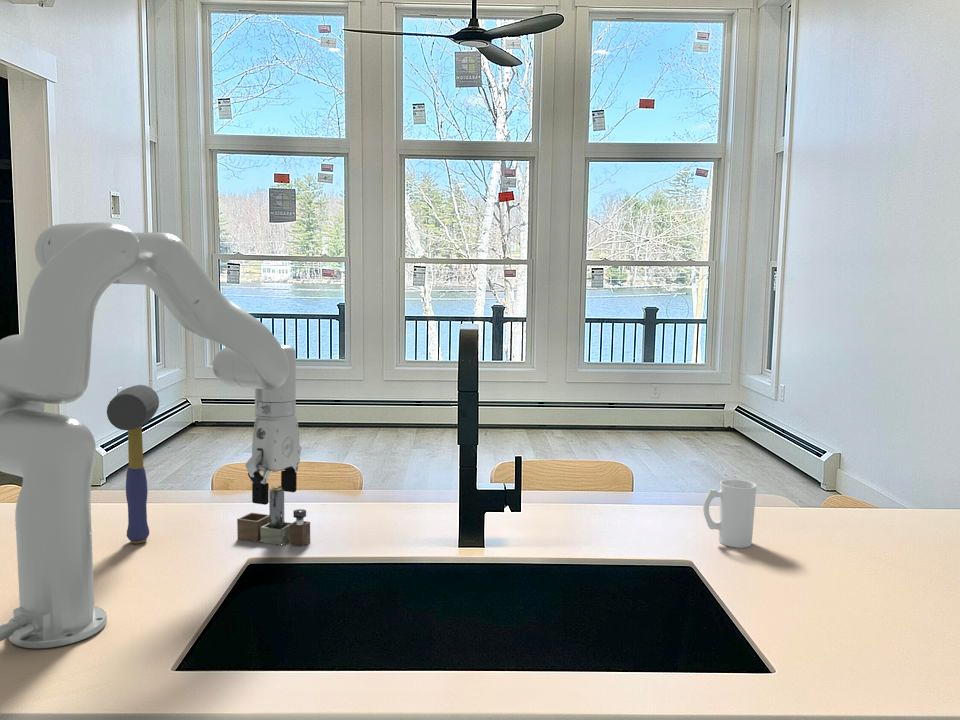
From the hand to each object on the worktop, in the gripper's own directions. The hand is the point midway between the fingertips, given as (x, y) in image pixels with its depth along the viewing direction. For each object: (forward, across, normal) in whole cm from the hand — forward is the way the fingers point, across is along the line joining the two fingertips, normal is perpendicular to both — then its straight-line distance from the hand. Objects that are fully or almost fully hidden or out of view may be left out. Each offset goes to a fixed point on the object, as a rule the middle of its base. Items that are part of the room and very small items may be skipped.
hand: (274, 497), depth 153 cm
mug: (+8, +31, -83) cm, 89 cm away
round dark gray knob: (+8, +1, -5) cm, 10 cm away
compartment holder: (+9, +1, 0) cm, 9 cm away
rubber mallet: (+9, -10, +24) cm, 27 cm away
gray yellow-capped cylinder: (+9, +1, 0) cm, 9 cm away
